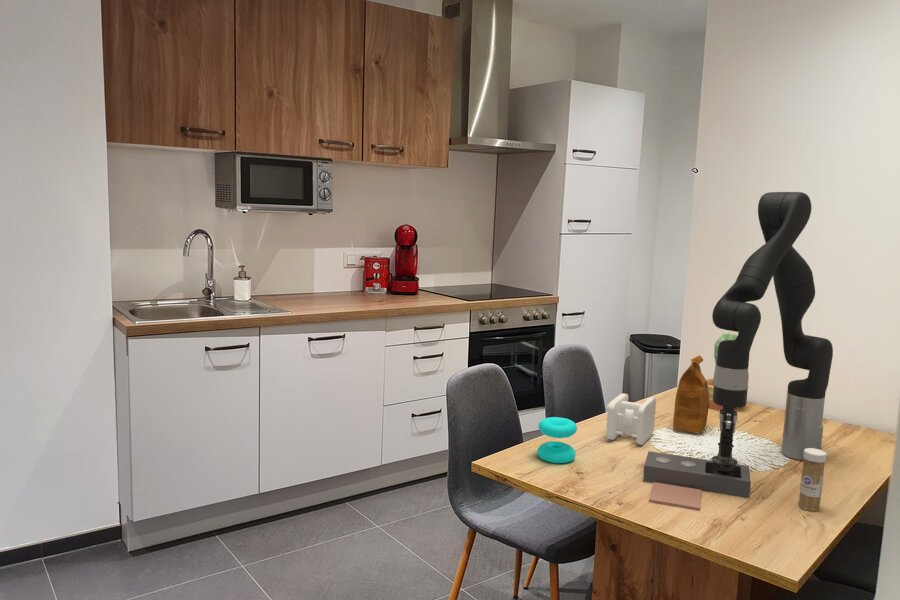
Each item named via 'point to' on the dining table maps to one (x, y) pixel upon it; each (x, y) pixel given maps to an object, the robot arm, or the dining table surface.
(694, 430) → the coffee package
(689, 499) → the tile pad
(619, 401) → the cable organizer
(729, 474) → the dark chess piece
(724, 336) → the potted cactus
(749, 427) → the dining table surface
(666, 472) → the socket strip
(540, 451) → the donuts
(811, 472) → the sprinkles bottle
